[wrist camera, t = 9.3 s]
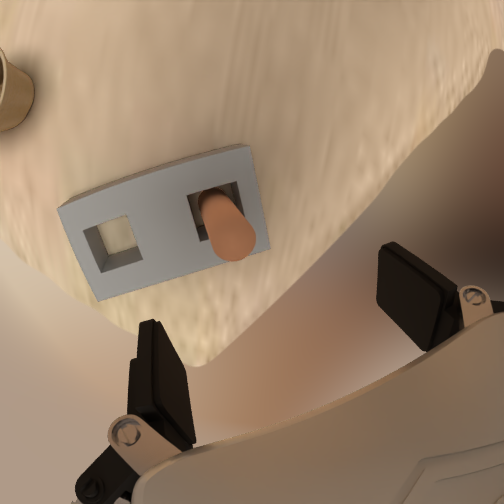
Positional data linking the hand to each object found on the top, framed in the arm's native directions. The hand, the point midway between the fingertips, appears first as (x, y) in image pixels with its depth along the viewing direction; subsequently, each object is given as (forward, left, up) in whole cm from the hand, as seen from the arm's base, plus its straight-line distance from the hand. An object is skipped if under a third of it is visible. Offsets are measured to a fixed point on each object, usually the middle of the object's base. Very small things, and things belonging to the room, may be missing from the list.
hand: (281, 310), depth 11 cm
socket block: (+5, 0, -20) cm, 21 cm away
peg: (0, 0, -20) cm, 20 cm away
